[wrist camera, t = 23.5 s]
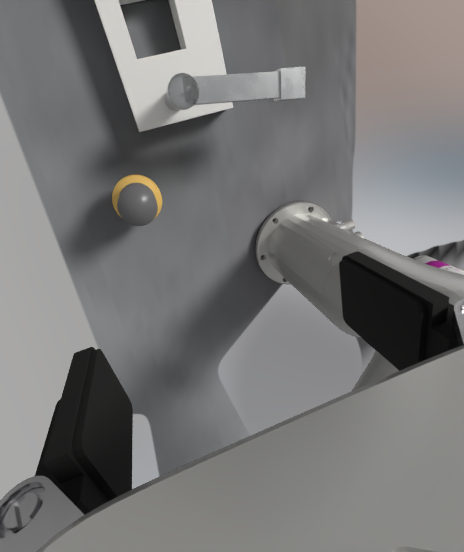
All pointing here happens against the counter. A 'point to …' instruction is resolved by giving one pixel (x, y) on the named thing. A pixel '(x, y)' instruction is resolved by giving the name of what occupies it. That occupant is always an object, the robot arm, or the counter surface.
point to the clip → (236, 87)
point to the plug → (137, 199)
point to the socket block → (165, 61)
